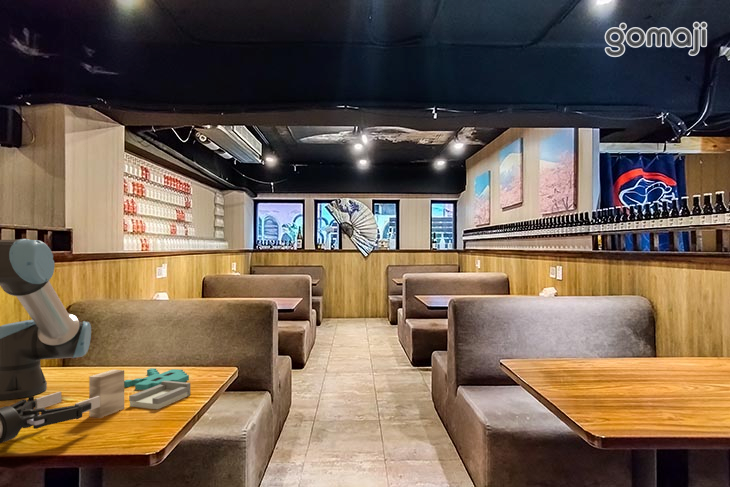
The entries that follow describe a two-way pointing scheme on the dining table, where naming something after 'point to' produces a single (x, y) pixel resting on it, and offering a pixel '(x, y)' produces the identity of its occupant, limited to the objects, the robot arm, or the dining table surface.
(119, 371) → the beige rectangular block
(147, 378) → the alien figure
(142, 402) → the groove board
